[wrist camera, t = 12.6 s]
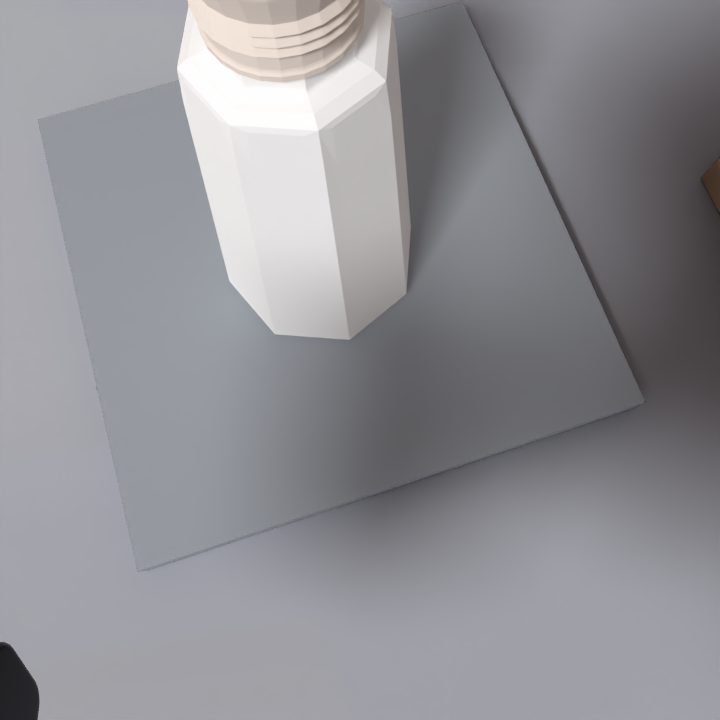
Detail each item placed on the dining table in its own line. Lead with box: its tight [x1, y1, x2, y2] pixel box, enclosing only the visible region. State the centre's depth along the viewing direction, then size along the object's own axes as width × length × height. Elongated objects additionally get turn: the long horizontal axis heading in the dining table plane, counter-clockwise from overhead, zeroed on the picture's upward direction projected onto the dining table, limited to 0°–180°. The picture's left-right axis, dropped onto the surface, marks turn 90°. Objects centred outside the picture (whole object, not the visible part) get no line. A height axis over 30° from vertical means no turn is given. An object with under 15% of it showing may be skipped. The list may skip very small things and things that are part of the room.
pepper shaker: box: [177, 0, 411, 340], centre depth 13 cm, size 5×5×11 cm
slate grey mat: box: [38, 1, 645, 572], centre depth 19 cm, size 14×14×1 cm
